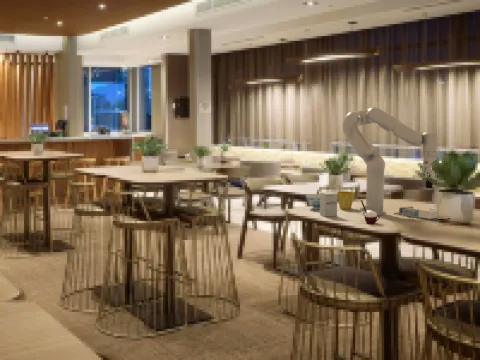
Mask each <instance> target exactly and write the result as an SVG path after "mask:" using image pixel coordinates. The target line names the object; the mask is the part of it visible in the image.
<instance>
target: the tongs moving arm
mask: <svg viewBox="0 0 480 360" xmlns="http://www.w3.org/2000/svg"><path fill="white" fill-rule="evenodd" d="M405 209H407V210H413V211H419V209H418V208H414V207H413V208H405Z"/></svg>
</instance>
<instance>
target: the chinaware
mask: <svg viewBox="0 0 480 360" xmlns="http://www.w3.org/2000/svg"><path fill="white" fill-rule="evenodd" d="M305 197H306V201H307V203H308V205H310V206H311V207H312V209H313V210H319V211H320V193H318V194H316V193H315V194H314V193H313V194H306V195H305Z"/></svg>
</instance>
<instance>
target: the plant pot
mask: <svg viewBox="0 0 480 360" xmlns="http://www.w3.org/2000/svg"><path fill="white" fill-rule="evenodd" d="M336 193H337V202H338V204H339V205H338V206H339V209H341V210H351V209H352V205H353V202H354V199H355V191H346V190H345V191H344V190H343V191H337V192H336Z"/></svg>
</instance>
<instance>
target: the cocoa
mask: <svg viewBox="0 0 480 360" xmlns="http://www.w3.org/2000/svg"><path fill="white" fill-rule="evenodd" d="M360 202H361V206H362V208H364V211H365V214H364V213H363V214H364V221H365V223H366V224H368V225H371V224H372V225H373V224H376V223H377V222H378V221H379V220H380V217H381V216H380V215H377V213H376V212H374V211H372V210H367V211H366V209H365V203H364V201H363V200H362V199H360Z"/></svg>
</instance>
